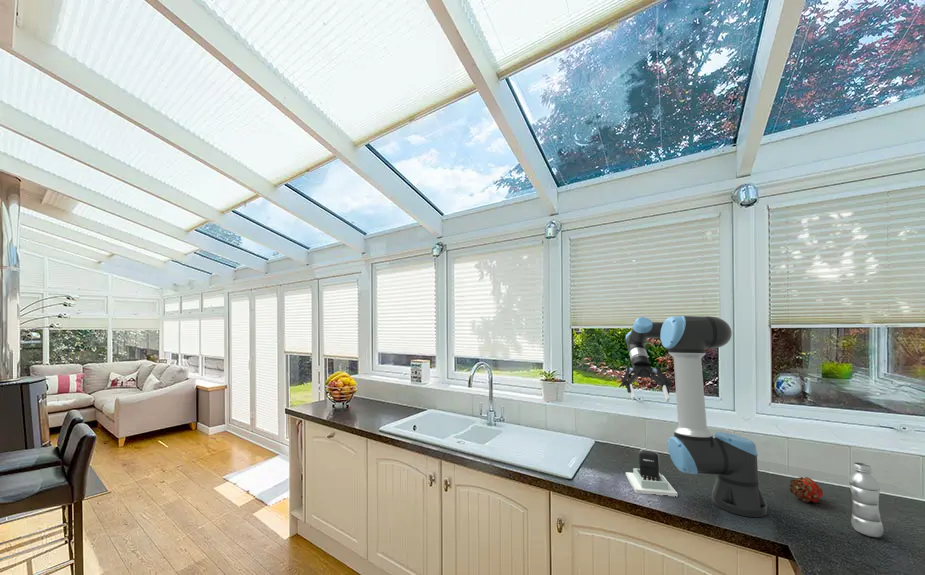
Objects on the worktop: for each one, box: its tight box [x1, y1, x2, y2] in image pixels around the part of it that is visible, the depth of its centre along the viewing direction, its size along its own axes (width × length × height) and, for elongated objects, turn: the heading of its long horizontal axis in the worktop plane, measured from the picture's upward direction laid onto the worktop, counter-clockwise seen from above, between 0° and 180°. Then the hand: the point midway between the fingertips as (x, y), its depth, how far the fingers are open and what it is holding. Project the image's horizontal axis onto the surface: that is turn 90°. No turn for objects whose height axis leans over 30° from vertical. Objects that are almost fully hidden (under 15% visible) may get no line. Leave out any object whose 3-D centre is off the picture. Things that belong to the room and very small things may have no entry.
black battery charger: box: [638, 449, 660, 481], centre depth 143 cm, size 7×4×11 cm, turn 59°
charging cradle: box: [625, 467, 679, 498], centre depth 143 cm, size 14×16×4 cm
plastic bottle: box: [848, 461, 884, 538], centre depth 112 cm, size 6×7×20 cm
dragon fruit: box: [788, 476, 824, 504], centre depth 132 cm, size 8×8×12 cm
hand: (650, 399), depth 158 cm, fingers open, 13 cm apart
